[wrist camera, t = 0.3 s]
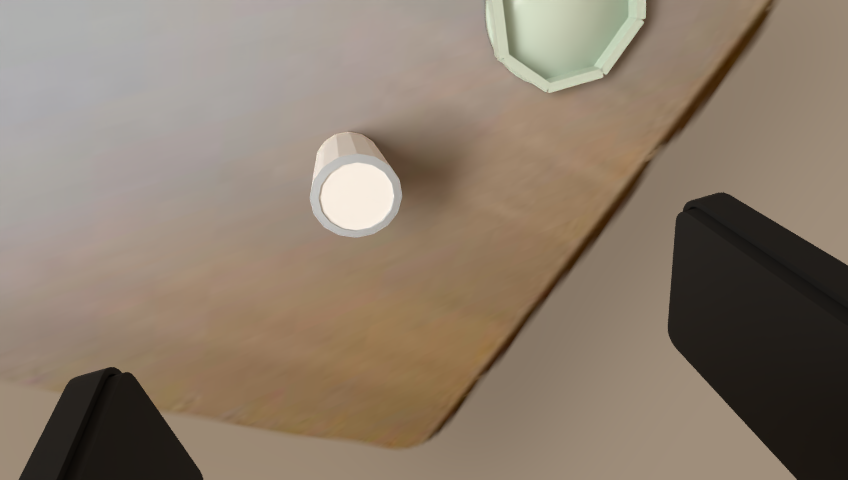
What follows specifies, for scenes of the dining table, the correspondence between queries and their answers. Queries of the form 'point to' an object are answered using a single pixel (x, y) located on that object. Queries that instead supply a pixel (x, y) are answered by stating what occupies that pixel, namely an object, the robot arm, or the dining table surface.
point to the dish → (561, 37)
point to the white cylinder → (353, 186)
